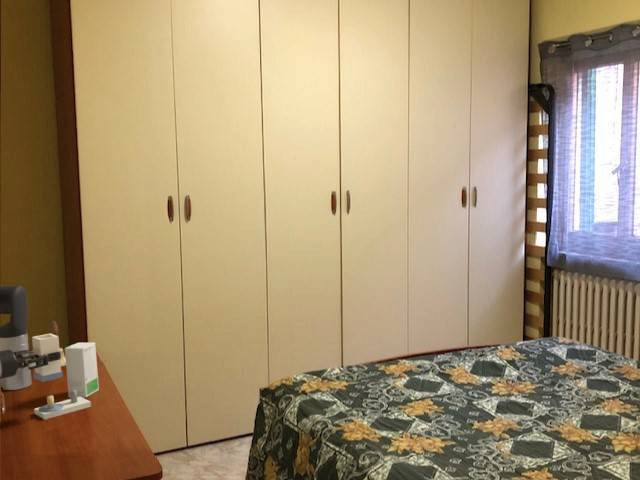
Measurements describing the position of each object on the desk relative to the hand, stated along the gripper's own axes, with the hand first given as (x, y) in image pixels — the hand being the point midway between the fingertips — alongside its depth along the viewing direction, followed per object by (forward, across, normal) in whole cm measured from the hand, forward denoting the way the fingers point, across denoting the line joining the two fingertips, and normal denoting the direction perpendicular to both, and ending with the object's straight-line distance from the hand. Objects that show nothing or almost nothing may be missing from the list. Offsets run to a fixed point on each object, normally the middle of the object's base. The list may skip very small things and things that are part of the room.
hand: (55, 353), depth 207 cm
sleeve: (-3, 0, +6) cm, 7 cm away
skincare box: (+12, +10, +17) cm, 23 cm away
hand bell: (+21, +48, +17) cm, 55 cm away
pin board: (+1, 0, +17) cm, 17 cm away
